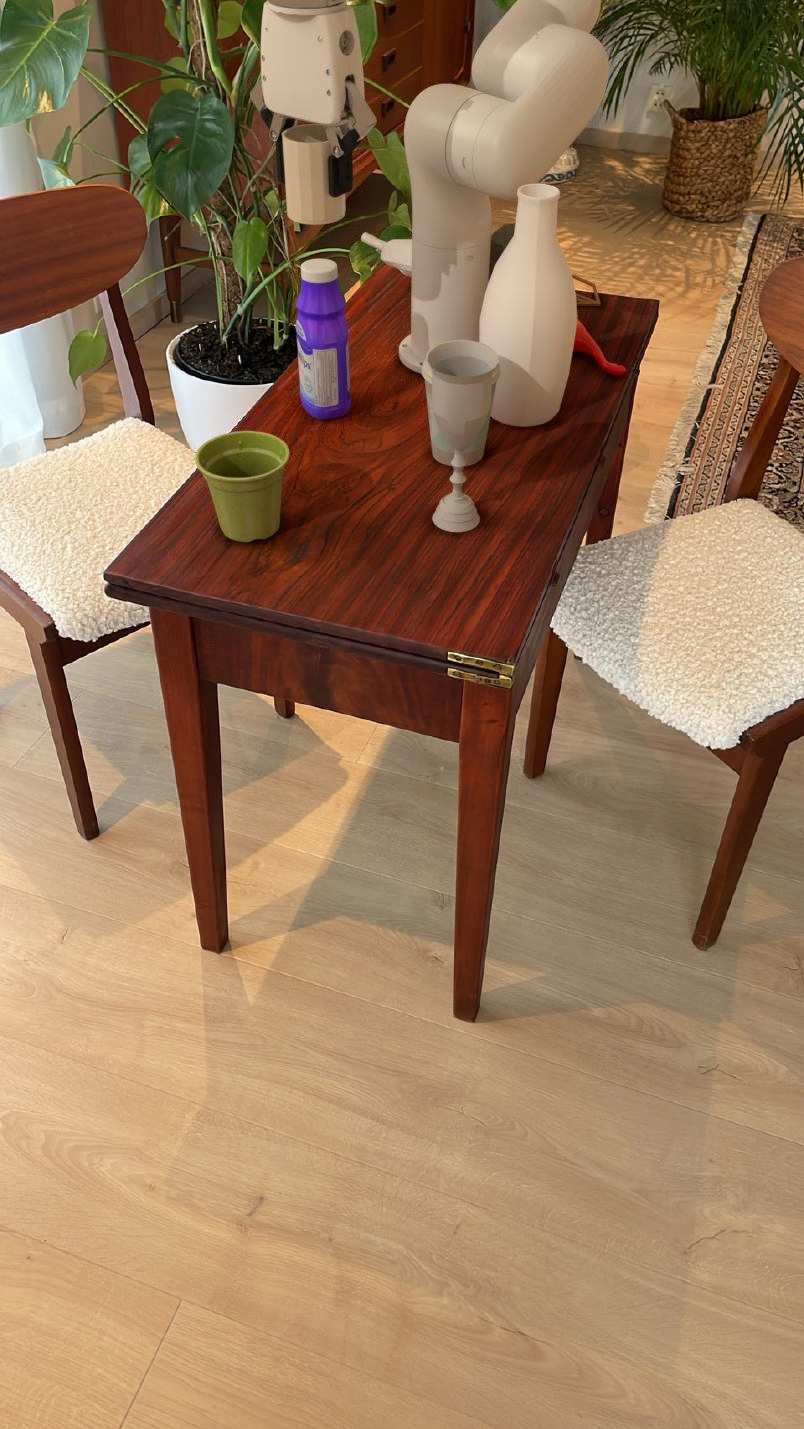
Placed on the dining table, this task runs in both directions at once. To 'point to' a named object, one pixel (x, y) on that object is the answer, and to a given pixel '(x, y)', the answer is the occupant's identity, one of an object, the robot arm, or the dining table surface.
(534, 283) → the bottle
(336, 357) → the bottle
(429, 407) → the coffee cup
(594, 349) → the dinosaur
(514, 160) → the robot arm
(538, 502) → the dining table surface
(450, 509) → the chalice
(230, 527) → the plant pot
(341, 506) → the dining table surface
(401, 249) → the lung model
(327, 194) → the paper cup
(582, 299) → the emblem
